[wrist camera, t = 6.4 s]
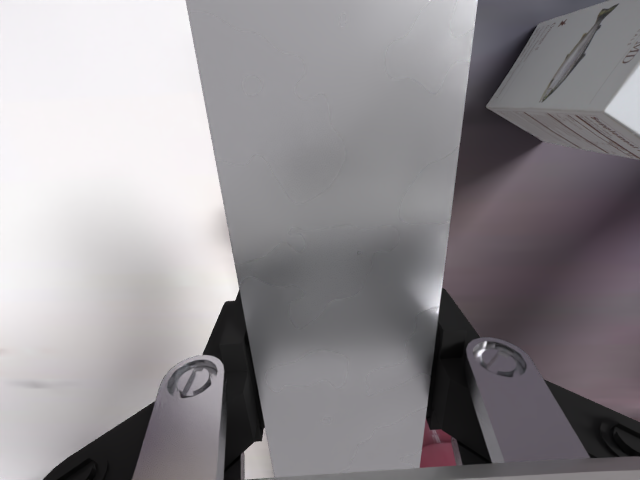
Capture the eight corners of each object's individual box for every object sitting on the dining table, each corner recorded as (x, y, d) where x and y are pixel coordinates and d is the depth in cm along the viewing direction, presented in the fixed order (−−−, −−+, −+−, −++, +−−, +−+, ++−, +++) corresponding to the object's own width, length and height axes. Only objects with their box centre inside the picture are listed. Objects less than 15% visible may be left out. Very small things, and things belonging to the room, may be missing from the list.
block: (226, -80, 7) (132, -285, 3) (406, -89, 7) (515, -303, 3) (299, 472, 15) (295, 591, 11) (381, 466, 15) (405, 584, 11)
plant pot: (368, 374, 41) (393, 483, 29) (473, 371, 41) (539, 477, 30) (361, 445, 47) (380, 559, 35) (453, 442, 47) (502, 553, 36)
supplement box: (537, 20, 26) (726, -47, 14) (600, 66, 27) (817, 40, 16) (480, 107, 28) (602, 111, 17) (541, 145, 30) (690, 172, 18)
